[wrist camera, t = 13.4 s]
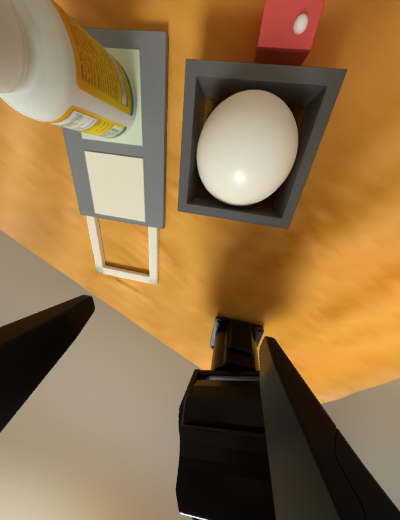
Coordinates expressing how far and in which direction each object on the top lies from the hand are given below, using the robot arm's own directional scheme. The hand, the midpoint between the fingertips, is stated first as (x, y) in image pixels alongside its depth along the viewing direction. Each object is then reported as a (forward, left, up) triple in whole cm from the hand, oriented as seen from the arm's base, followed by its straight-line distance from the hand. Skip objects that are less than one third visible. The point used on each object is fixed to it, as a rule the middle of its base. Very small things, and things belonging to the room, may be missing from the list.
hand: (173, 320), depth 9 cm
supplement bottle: (+11, +10, -12) cm, 19 cm away
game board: (+4, +10, -12) cm, 16 cm away
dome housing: (+10, -2, -12) cm, 16 cm away
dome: (+8, -2, -11) cm, 14 cm away
